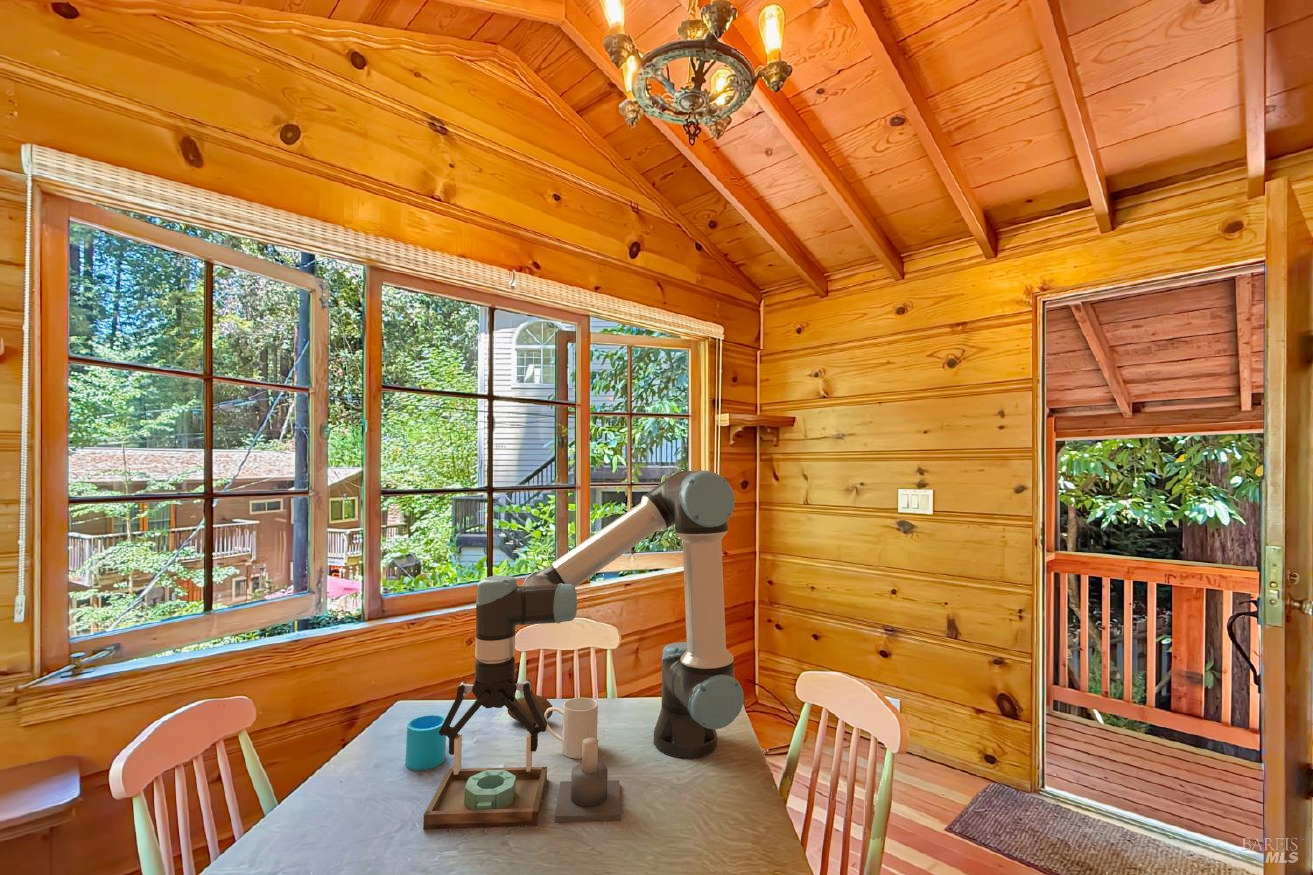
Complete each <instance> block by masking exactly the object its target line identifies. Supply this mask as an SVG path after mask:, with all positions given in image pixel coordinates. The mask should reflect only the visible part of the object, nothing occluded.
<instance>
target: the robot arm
mask: <svg viewBox="0 0 1313 875" xmlns="http://www.w3.org/2000/svg"><path fill="white" fill-rule="evenodd" d="M734 493H735V492H734V490H733V487H732V486H731V484H730V483H729V482H728V481H727V479H726V478H724V477H723V476H722V475H720V474H719V473H716V472H713V471H709V470H702V469H700V470H682V471H679V472H676V473H674V474H672V475H670V476H668V477H667V478H665V480H663V481H662V482H661V483H659V484H657V485H656V486H655V487H654V488H653V489H651V490H650V491H648V492H647V493H645V494H644V495H642V496H641V501H640V503H639V504H637V505H635V506H634V507H632V508H631V509H629V510H628V511H627V512H625V513H623V514H622V515H621V516H619V517H618V518H616V519H614V521H611V522H610V523H609V524H608V525H606V526H604V527H603V528H602V529H600V530H598V531H597V532H596V533H594V534H593V535H591V536H590V537H588V538H587V539H585V540H583V542H581V543H579V544H578V545H577V546H575V547H574V548H573V549H571V550H569V551H568V552H567V553H565V554H564V555H561V556H560V557H559V558H557V559H556V560H555V561H554V562H552V563H550V564H549V565H547V566H546V567H545V568H543V569H541V570H537V571H534V572H532V573H530V574H528V576H526V577H525V579H524V582H523V584H522V586H521V585H518V584H517V580H516V577H514V576H511V575H492V576H487V577H484V578H481V579H480V580H479V582H478V583H477V590H476V602H475V607H476V608H475V629H476V630H475V649H474V650H475V652H474V653H475V654H474V657H475V658H476V660H475V661H474V662H475V663H474V664H475V665H474V684H472V683H468V682H466V681H462V682H460V684H459V685H458V687H457V691H456V696H455V700H454V702H453V703H452V706H451V707H450V709H449V711H448V713H447V715H446V717H445V718H446V719H445V721H444V723H443V725H442V727H441V729H440V731H439V734H440V735H441V736H443V735H445V736H446V738H448V754H449V756H453V769H454V775H456V774H458V773H459V771H460V769H462V752H463V750H462V747H463V746H462V745H463V742H462V741H463V733H462V732H460V731H461V730H462V729H463V727H465V726H466V724H467V723H468V722H469V720H471V718H472V717H473V715H475V713H476V712H477V711H479V709H480V708H481V706H482V707H484V708H485V709H491V708H495V709H502V708H503V707H505V708H506V709H507V711H508V710H510V711H512V713H513V714H514V715H515V716H516V717H517V719H518V720H519V721H520V722H519V721H518V722H519V723H521V725H522V726H523V727H524V728H525V729H526V731H527V735H526V750H525V751H526V753H525V754H526V756H525V757H526V758H525V764H526V765H525V767H526V772H529V771H530V770H531V767H533V766H532V765H533V752H537V749H538V746H539V741H538V740H539V734H540V733H545V732H546V730H547V729H546V728H547V723H548V720H547V721H546V718H545V716H544V714H543V712H542V710H541V708H540V706H539V704H538V702H537V700H536V698H535V696H534V695H535V693H534V692H533V686H532V681H531V679H526V680H525V681H523V682H517V681H516V658H515V657H514V655H515V654H516V627H517V626H524V625H528V626H529V625H542V624H560V623H566V622H571V621H574V619H575V618H576V616H577V613H578V612H577V610H578V596H577V589H576V588H577V587H579V586H580V585H581V584H582V583H584V582H585V581H586V580H588V579H590V578H592V576H594V575H595V574H597V573H598V572H600V571H601V570H602V569H604V568H605V567H607V566H608V565H610V564H611V563H613V562H614V561H615V560H617V559H618V558H620V557H621V556H622V555H624V554H625V553H626V552H628V551H629V550H631V549H632V548H634V547H636V545H638V544H640V542H642V541H644V540H645V539H647V538H648V537H650V536H651V535H652V534H654V533H655V532H657V531H658V530H663V531H665V530H667V529H669V528H670V527H671V526H673V525H674V532H675V535H677V536H678V538H680V540H681V541H682V560H683V580H684V581H683V583H684V584H683V586H684V587H683V588H684V608H685V609H684V610H685V611H684V612H685V633H686V634H685V636H686V637H685V638H686V641H683V642H682V641H680V642H672V643H669V644H666V645H665V646H664V647H663V649H662V657H661V660H660V661H661V706H660V707H661V708H660V712H659V715H658V718H657V721H656V724H655V727H654V730H653V746H654V747H655V746H656V747H655V748H656V749H657V750H658V751H660V752H662V753H663V752H664V753H663V754H665V753H667V754H666V755H668V754H669V756H671V755H672V757H677V758H685V759H687V758H698V757H699V758H700V757H704V756H706V754H707V755H709V754H711V753H713V752H714V751H715V750H716V749H717V747H716V746H718V733H717V730H719V729H722V728H726V727H727V726H729V725H731V723H733V722H734V721H735V719H736V718H738V716H739V715H740V713H741V711H742V709H743V707H744V706H743V705H744V699H745V696H744V690H743V688H742V686H741V683H740V682H739V681H738V680H737V678H736V677H735V676H736V675H735V660H734V659H735V658H734V655H733V654H732V653H731V652H730V651H729V650H728V649H727V640H726V639H727V638H726V615H725V614H726V613H725V595H724V594H725V593H724V590H725V589H724V572H723V550H722V549H723V548H722V545H723V544H722V541H723V540H722V539H723V538H724V537H725V535H726V534H728V531H729V529H728V528H729V527H728V526H729V525H728V522H729V521H728V520H729V519H730V517H731V515H733V512H734V509H735V504H736V503H735V502H736V500H735V498H736V497H735V494H734ZM516 691H519V693H520V694H521V695H522V696H523V697H525V700H526V702H527V704H528V706H529V708H530V710H531V712H532V714H533V716H534V719H535V721H536V723H537V724H536V723H535V721H534V720H533V719H532V718H531V717H530V716H529V714H528V713H527V712H526V711H525V710H524V708H523V707H522V706H521V705H520V704H519V703H518V701H517V699H518V698H517V697H516V696H515V693H516ZM470 692H472V694H473V696H474V697H475V698H476V699H475V700H474V702H473V703H472V704H471V706H470V707H469V708H468V709H467V710H466V712H465V713H464V714H463V715H462V716H461V717H460V719H459V720H458V721H457V722H456V724H454V726H451V724H452V723H453V721H454V718H455V716H456V714H457V712H458V710H459V708H460V706H461V704H462V702H463V701H464V699H465V697H467V696H468V695H469V694H470ZM715 748H716V749H715ZM714 749H715V750H714ZM713 750H714V751H713ZM712 751H713V752H712ZM710 752H711V753H710ZM708 753H709V754H708ZM703 755H704V756H703Z"/></svg>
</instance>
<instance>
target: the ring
mask: <svg viewBox="0 0 1313 875" xmlns="http://www.w3.org/2000/svg"><path fill="white" fill-rule="evenodd" d="M515 790H516V776H515V775H513V774H511V773H510V772H508V771H506V770H485V771H483V772H481V773H478V774H476V775H474V776H471V777H470V778H469V779H468V781H467V784H466V786H465V794H464V805H466V806H467V807H469V808H470V809H472V810H491V809H501V808H503V807H505V806H507V805H509V804H511V803H512V802H513V799H514V796H515Z"/></svg>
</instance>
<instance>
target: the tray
mask: <svg viewBox="0 0 1313 875" xmlns="http://www.w3.org/2000/svg"><path fill="white" fill-rule="evenodd" d="M485 770H506V771H508V772H510V773H511V774H513V775H515V776H516V790H515V796H514V799H513V802H512V803H511V804H509V805H507V806H505V807H503V808H501V809H491V810H472V809H470V808H469V807H467V806H466V805H464V794H465V786H466V784H467V781H468V779H469V778H470V777H471V776H474V775H476V774H478V773H481V772H483V771H485ZM547 779H548V766H531V770H530V771H529V772H526V766H521V767H520V766H516V767H515V766H514V767H513V766H512V767H475V768H473V767H472V768H471V767H469V768H467V767H466V768H461V769H460V771H459V773H458V774H456V775H454V768H448V769H447V771H446V773H445V775H444V776H443V778H442V780H441V782H440V784H439V786H438V788H437V790H436V791H435V793H434V795H433V796H432V799H431V801H430V802H429V804H428V806H427V807H426V810H425V811H424V813H423V826H422V829H423V830H437V829H438V830H442V829H446V830H447V829H471V828H472V829H474V828H475V829H476V828H479V829H480V828H508V827H509V828H510V827H512V828H513V827H537V826H538V823H539V819H540V814H541V810H542V804H543V799H544V794H545V791H546V785H547Z"/></svg>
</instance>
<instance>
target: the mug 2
mask: <svg viewBox="0 0 1313 875" xmlns="http://www.w3.org/2000/svg"><path fill="white" fill-rule="evenodd" d="M562 707H563V708H562V709H561V708H558V707H556V706H552V707H551V708H548V709H547V710H546V712H545V715H544V716H545V718H546V721H547V728H546V730H547V732H548V733H549V734H550V735H551V736H553V737H554V738H555V739H557V740H559V741H561V744H562V746H561V751H562V752H561V753H562V754H563V756H566V757H567V758H569V759H576V760H577V759H582V748H583V740H584V739H586V738H596V739H597V740H598V717H599V716H598V714H599V713H598V712H599V703H598V701H597V700H595V699H593V698H589V697H574V698H570V699H568V700H566V701H565V702H564V703H563V706H562ZM550 711H553V712H556V713H559V714H560V715H562V736H561V735H559V734H557V733H556V732H554V730H553V729H551V727H550V725H549V723H548V719H547V714H548V712H550Z"/></svg>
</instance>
